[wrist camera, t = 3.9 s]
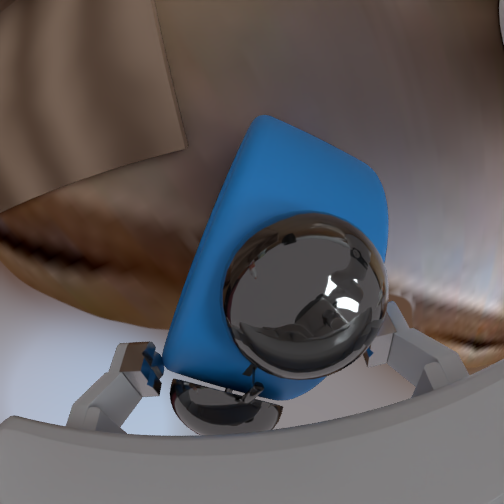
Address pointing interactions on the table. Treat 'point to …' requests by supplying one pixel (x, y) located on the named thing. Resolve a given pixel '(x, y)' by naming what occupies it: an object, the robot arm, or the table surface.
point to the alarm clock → (278, 281)
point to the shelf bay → (81, 92)
